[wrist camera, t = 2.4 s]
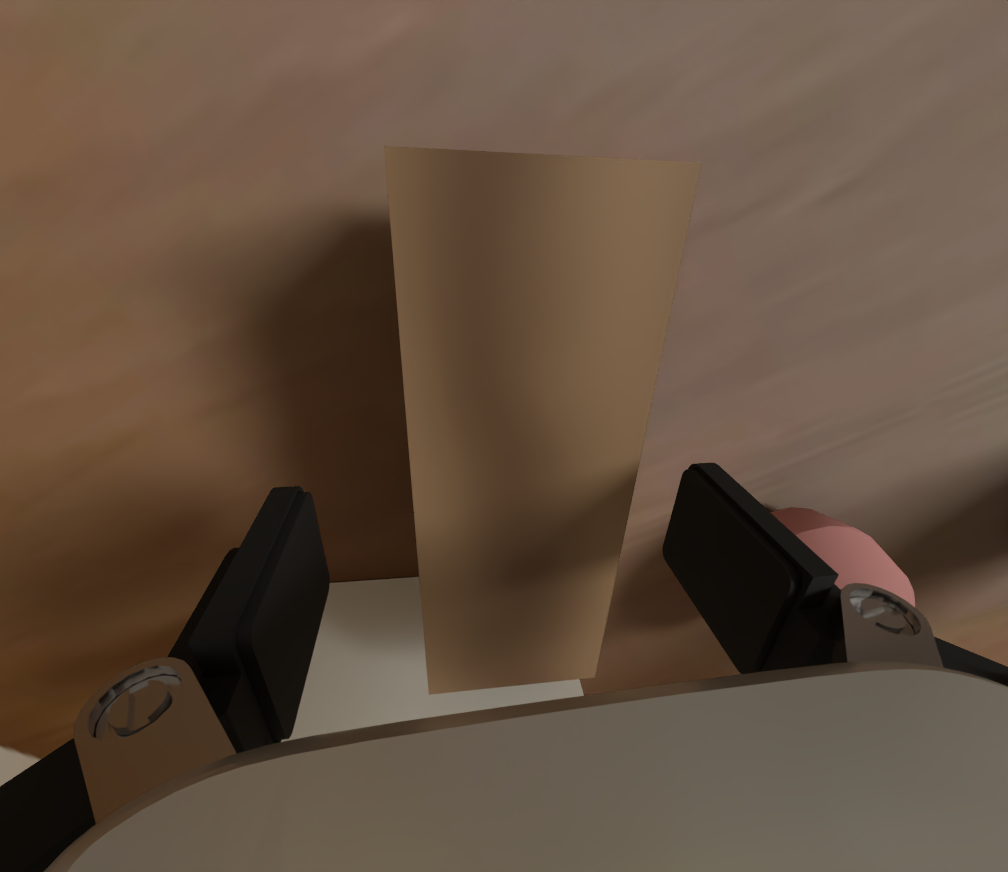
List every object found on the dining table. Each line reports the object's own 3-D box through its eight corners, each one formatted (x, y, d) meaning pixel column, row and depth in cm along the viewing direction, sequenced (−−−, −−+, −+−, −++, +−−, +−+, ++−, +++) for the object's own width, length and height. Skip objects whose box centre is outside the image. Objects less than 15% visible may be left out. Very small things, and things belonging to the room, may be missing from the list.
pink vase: (821, 563, 26) (1077, 805, 16) (699, 604, 26) (869, 868, 16) (824, 462, 22) (1163, 691, 12) (683, 513, 23) (889, 777, 12)
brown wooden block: (612, 177, 13) (701, 162, 8) (561, 575, 20) (594, 677, 16) (405, 167, 12) (383, 146, 8) (431, 584, 19) (428, 694, 15)
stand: (547, 567, 23) (622, 830, 14) (524, 778, 34) (559, 1013, 24) (272, 586, 22) (131, 904, 12) (337, 802, 32) (290, 1068, 22)
